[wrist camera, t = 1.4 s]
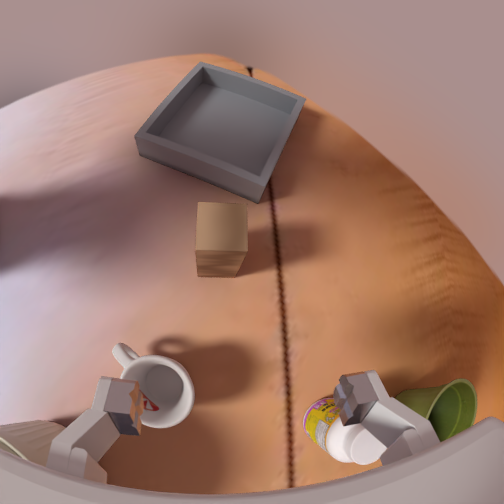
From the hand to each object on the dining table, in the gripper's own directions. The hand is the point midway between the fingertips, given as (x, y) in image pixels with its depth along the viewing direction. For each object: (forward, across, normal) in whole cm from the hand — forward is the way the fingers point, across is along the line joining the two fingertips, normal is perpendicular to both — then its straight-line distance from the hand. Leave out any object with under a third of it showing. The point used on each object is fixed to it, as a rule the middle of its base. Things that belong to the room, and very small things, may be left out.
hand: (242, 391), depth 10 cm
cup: (+17, +8, +20) cm, 27 cm away
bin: (+42, 0, -6) cm, 43 cm away
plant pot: (+11, -28, +27) cm, 41 cm away
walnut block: (+27, 0, +9) cm, 29 cm away
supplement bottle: (+12, -14, +26) cm, 32 cm away
